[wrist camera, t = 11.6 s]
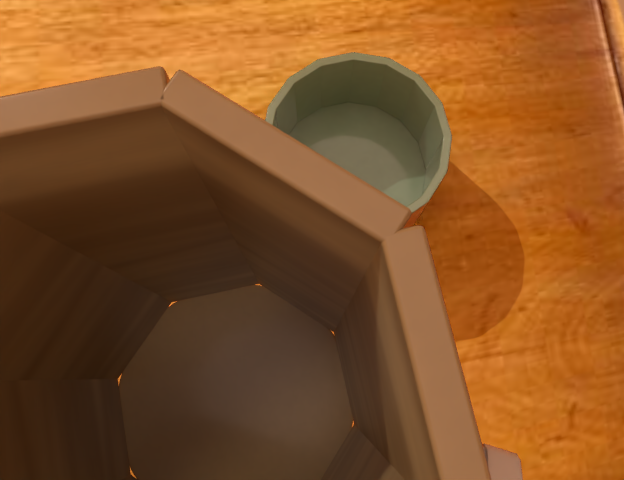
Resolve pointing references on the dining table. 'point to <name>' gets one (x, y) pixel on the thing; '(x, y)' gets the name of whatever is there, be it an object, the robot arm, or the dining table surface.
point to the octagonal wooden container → (211, 300)
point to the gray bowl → (369, 123)
